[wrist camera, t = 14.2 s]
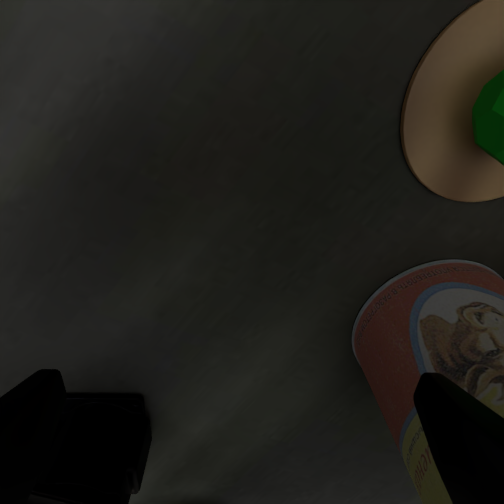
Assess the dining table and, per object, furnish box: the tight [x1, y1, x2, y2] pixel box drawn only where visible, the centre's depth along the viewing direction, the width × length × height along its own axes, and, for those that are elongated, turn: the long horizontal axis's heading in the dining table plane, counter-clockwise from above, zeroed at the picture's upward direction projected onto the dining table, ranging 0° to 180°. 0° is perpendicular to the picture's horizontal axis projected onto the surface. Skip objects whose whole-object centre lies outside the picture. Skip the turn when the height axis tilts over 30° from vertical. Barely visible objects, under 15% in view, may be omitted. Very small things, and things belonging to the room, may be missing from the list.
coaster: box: [400, 0, 504, 202], centre depth 17 cm, size 10×10×1 cm
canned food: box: [352, 259, 504, 504], centre depth 18 cm, size 11×11×12 cm
